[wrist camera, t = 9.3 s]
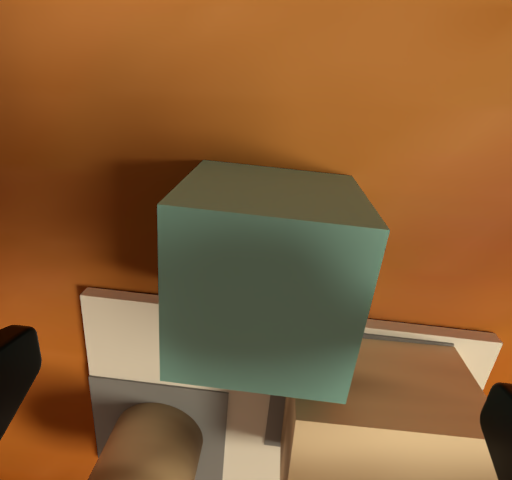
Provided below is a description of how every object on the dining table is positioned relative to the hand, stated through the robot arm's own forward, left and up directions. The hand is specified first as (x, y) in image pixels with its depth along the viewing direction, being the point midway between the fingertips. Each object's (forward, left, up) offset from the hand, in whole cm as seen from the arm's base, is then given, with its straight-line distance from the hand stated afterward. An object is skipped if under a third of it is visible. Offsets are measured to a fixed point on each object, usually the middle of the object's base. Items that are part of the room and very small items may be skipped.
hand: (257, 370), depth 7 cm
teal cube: (0, 0, -7) cm, 7 cm away
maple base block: (-6, -4, -6) cm, 10 cm away
